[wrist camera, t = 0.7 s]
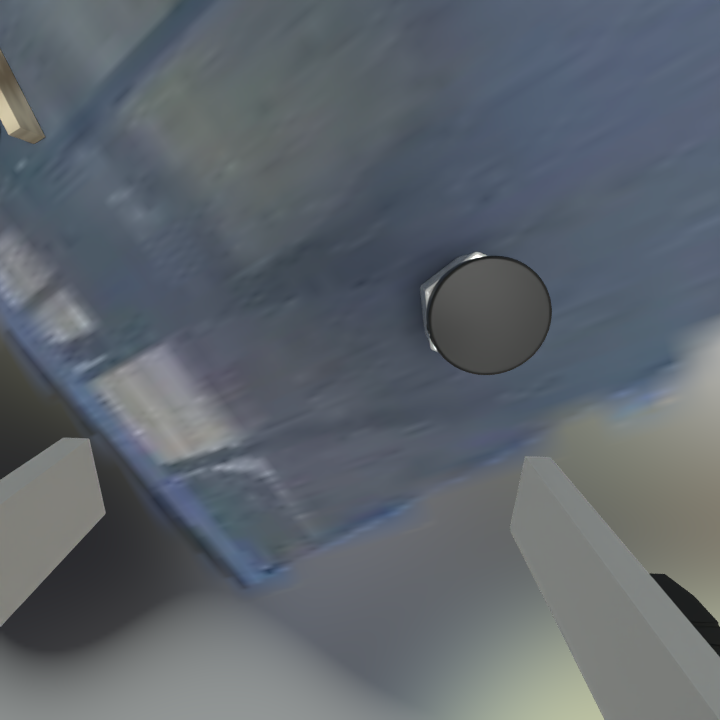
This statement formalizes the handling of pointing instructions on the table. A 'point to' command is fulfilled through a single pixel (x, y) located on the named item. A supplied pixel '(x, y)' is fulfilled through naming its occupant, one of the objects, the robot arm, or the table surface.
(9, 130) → the guide
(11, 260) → the table surface
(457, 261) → the jar
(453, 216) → the table surface
